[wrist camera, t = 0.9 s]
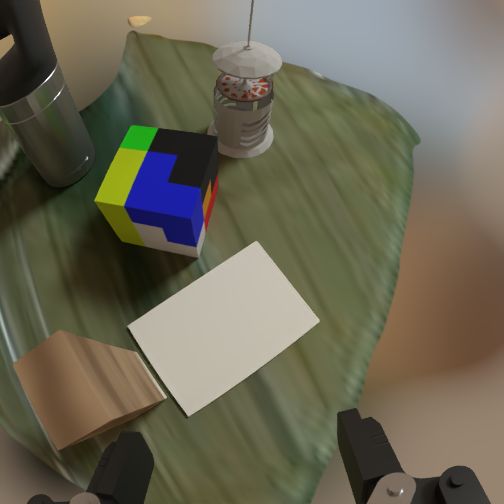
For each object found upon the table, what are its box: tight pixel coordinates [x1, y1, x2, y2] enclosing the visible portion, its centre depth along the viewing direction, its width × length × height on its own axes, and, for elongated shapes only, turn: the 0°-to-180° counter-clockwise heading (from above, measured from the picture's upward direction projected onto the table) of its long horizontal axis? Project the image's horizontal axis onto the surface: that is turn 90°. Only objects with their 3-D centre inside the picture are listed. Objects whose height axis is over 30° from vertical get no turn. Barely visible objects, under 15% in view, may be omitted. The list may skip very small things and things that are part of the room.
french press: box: [207, 0, 282, 158], centre depth 33 cm, size 10×12×25 cm
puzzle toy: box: [95, 125, 218, 258], centre depth 34 cm, size 10×10×10 cm
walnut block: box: [13, 330, 167, 451], centre depth 23 cm, size 4×6×18 cm
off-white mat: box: [128, 241, 320, 417], centre depth 34 cm, size 18×12×1 cm, turn 127°
